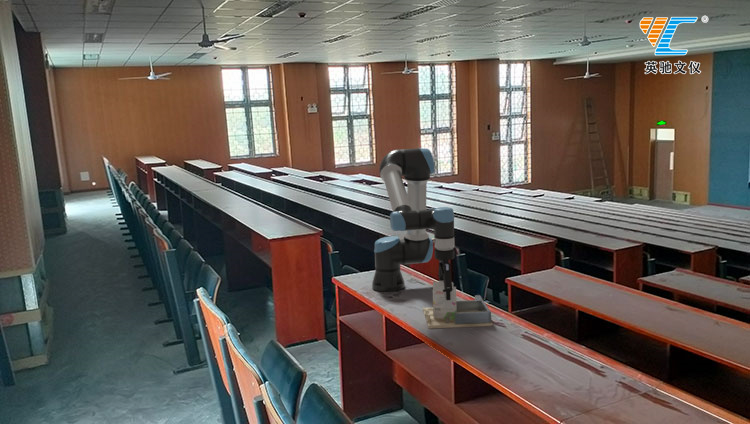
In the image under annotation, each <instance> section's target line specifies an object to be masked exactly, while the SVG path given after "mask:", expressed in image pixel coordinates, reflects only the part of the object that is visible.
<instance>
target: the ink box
mask: <svg viewBox="0 0 750 424" xmlns="http://www.w3.org/2000/svg"><path fill="white" fill-rule="evenodd" d="M442 284H444V282H439V281H432V307H433V317H434V318H441V319H446V316H449V319H455V313H457V306H456V301H457V286H454V282H453V281H452V289H453V290H452V308H444V292H443V290H444V286H440V285H442ZM448 288H449V287H448Z"/></svg>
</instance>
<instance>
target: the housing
mask: <svg viewBox="0 0 750 424" xmlns="http://www.w3.org/2000/svg"><path fill="white" fill-rule="evenodd" d="M456 306H457V311H476V310H481V311H482V312H463V313H455V324H467V323H489V322H492V311H491V310H490V308H489V307H488V305H487V304H486V302H485V301H484V299H483V298H482V296H481V295H480V294H477V295H474V299H472V300H471V299H469V300H456Z"/></svg>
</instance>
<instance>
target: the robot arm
mask: <svg viewBox="0 0 750 424" xmlns="http://www.w3.org/2000/svg"><path fill="white" fill-rule="evenodd" d="M435 168H436V167H435V161H434V156H433V153H432V152H431V150H430V149H428V148H422V147H421V148H420V147H416V148H403V149H399V148H398V149H394V150H391V151H389V152H388V153H387V154H385V155H384V157H383V158H382V160H381V161H380V164H379V172H378V173H379V175H380V179H381V180H382V181H383V182H384V185H385V188H386V192H387V195H388V199H389V201H390V207H391V210H392V212H391V213H390V214H389V222H390V224H389V225H390V228H391V230H392V231H394V232H404V231H405V233H404V234H403V238H402V239H401V238H400V237H399V236H396V235H394V236H392V235H391V236H384V237H381V238H379V239H377V240H375V242H374V249H373V252H374V268H375V272H374V275H373V279H372V283H371V287H372V289H373V290H375V291H377V292H378V291H379V292H387V293H388V292H396V291H397V292H398V291H401V290H403V289H404V288H405V286H406V285H405V280H404V278H403V277H404V276H403V273H402V271H401V265H412V264H414V265H415V264H422V263H423V264H424V263H428V262H430V261H431V259H432V258H433V254H434V259H436V260H438V282H444V284H442V285H440V286H444V290H443V292H444V308H452V290H453V289H452V282H453V280H452V270H451V269H452V268H451V267H452V265H451V263H450V260H451V261H452V260H454V259H455V213H454V209H453V208H452V207H448V206H440V207H431V208H428V209H427V183H428V181H430V180H431V176H432V175H434V173H435ZM402 176H403V177H402ZM403 179H404V180H405V182H407V189H406V186H405V183H404V180H403ZM432 229H433V232H434V233H433V234H434V235H433V236H434V239H432V238H431V237H430V235H429V233H428V232H427V230H432ZM433 251H434V253H433ZM448 287H449V288H448Z"/></svg>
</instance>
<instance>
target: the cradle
mask: <svg viewBox="0 0 750 424" xmlns="http://www.w3.org/2000/svg"><path fill="white" fill-rule="evenodd" d="M422 311H423V316H424V318H425V320H426V325H427V328H428V329H444V328H445V329H449V328H470V327H474V328H475V327H490V326H491V327H492V326H493V321H491V322H489V323H467V324H455V319H449V316H446V319H441V318H434V317H433V306H432V307H422ZM463 312H482V311H481V310H476V311H457V313H463Z"/></svg>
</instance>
